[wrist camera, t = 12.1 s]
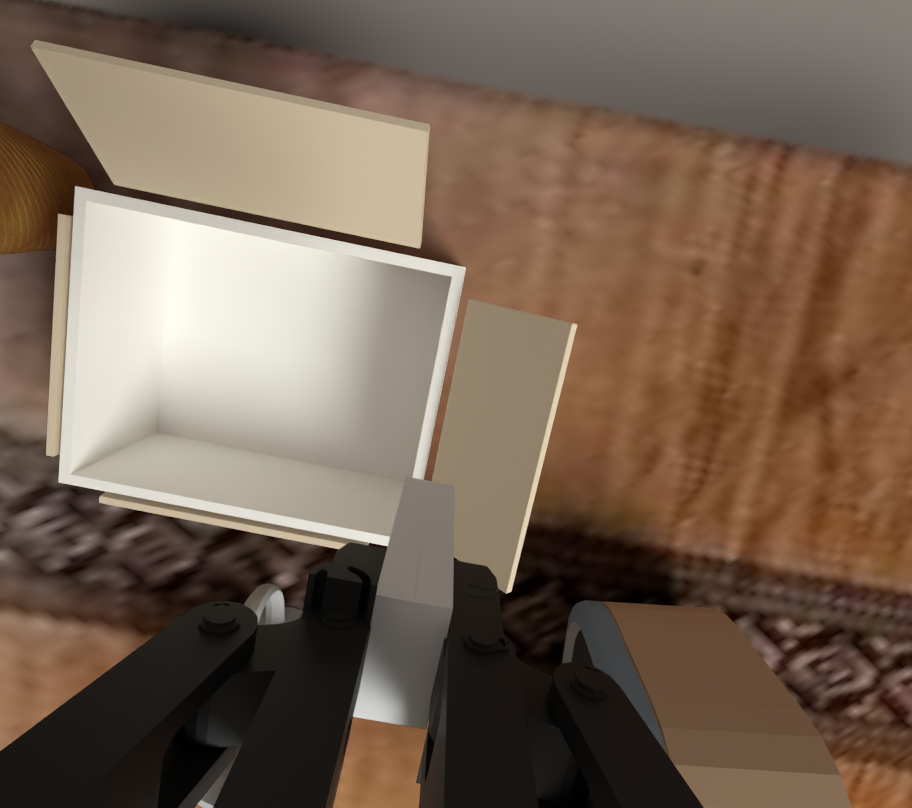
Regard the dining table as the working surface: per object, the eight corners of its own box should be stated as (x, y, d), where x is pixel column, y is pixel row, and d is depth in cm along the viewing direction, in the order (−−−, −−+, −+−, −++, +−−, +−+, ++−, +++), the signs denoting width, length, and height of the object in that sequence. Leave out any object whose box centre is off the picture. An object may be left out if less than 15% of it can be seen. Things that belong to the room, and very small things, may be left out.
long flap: (30, 46, 21) (35, 39, 21) (114, 184, 28) (117, 178, 28) (427, 131, 22) (430, 124, 22) (419, 248, 28) (421, 242, 28)
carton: (140, 443, 41) (44, 492, 32) (161, 207, 38) (59, 182, 28) (419, 498, 42) (406, 562, 32) (465, 270, 38) (465, 267, 29)
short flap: (505, 593, 27) (511, 591, 27) (572, 323, 24) (577, 324, 25) (420, 533, 31) (426, 532, 32) (468, 298, 29) (474, 299, 29)
